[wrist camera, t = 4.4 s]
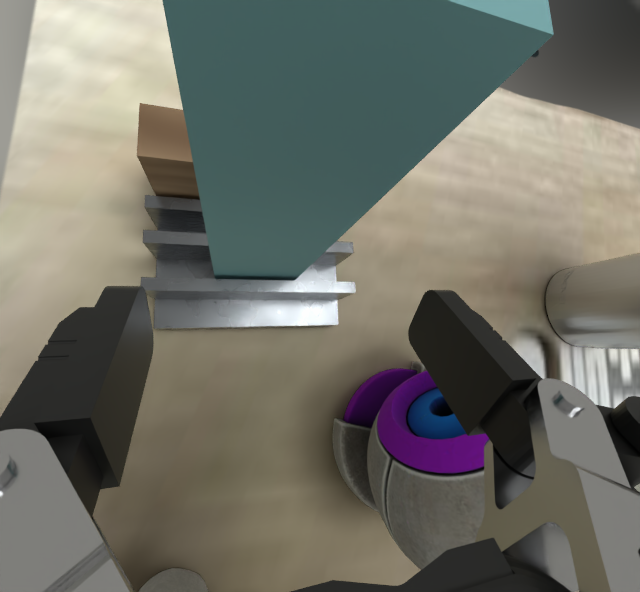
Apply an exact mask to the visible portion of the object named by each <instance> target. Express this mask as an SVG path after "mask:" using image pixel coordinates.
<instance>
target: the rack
mask: <svg viewBox="0 0 640 592" xmlns="http://www.w3.org/2000/svg"><path fill="white" fill-rule="evenodd" d="M145 209H146V210H147V212H148V214H149V215H150V217H151V219H152V220H153V222H154V224H155V225H156V227H157V229H158V231H152V230H143V243H144V244H145V246H146V247H147V248H148V249H149V250H150V252H151V253H152V254H153V255H154V256H155V258H156V259H157V264H156V278H149V277H141V286H142V287H143V288H144V289H145V292H146V294H147V295H149V296H150V297H152V298H154V299H155V312H154V329H159V330H169V329H217V328H266V327H314V326H335V325H338V305H337V300H339V299H341V298H344V297H346V296H349V295H351V294H354V293H356V292H355V282H337V281H336V265H337V264H339V263H340V262H342V261H343V260H344V259H346V258H347V257H349V256H350V255H351V254H353V242H335V243H334V244H333V245H332V246H330V247H329V248H328V249H327V250H326V251H325V252H324V253H323V254H322V255H321V256H320V257H319V258H318V259H317V260H316V261H315V262H314V263H313V264H312V265H310V266H309V267H308V268H307V269H306V270H305V271H304V272H303V273H302V274H301V275H300V276H299V277H298V278H297V279H296V280H295V281H287V280H241V279H215V276H214V271H213V266H212V260H211V255H210V250H209V244H208V239H207V234H206V228H205V223H204V218H203V213H202V207H201V202H200V200H196V199H184V198H173V197H162V196H150V195H145Z"/></svg>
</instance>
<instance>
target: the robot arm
mask: <svg viewBox="0 0 640 592" xmlns="http://www.w3.org/2000/svg"><path fill="white" fill-rule="evenodd" d="M546 309H547V314H548V317H549V320H550V322H551V324H552V326H553V328H554V330H555V331H556V332H557V334H558V335H559V336H560V337H561V338H562V339H563V340H564V341H566V342H567V343H569V344H571V345H574V346H579V347H595V348H611V349H640V253H636V254H632V255H627V256H623V257H618V258H614V259H609V260H605V261H600V262H595V263H591V264H586V265H582V266H577V267H573V268H568V269H564V270H562V271H559V272H558V273H557V274H555V275H554V276H553V278H552V279H551V280H550V282H549V285H548V287H547V292H546ZM408 335H409V341H410V344H411V346H412V347H413V349H414V351H415V352H416V354H417V355H418V357H419V359H420V360H421V362H422V363H423V365H424V367H425V368H426V370H427V371H428V373H429V375H430V376H431V378H432V379H433V381H434V383H435V384H436V386H437V387H438V389H439V391H440V392H441V394H442V395H443V397H444V399H445V400H446V402H447V403H448V405H449V407H450V408H451V410H452V411H453V413H454V415H455V416H456V418H457V419H458V421H459V423H460V424H461V426H462V427H463V429H464V430H465V432H466V434H467V435H468V436H472V435H479V434H486V435H487V436H488V438H489V439H488V440H487V442H486V443H485V446H484V494H485V512H484V518H483V521H482V524H481V526H480V528H479V530H478V533H477V536H476V540H475V542H474V543H471V544H467V545H463V546H459V547H456V548H452V549H448V550H446V551H445V552H444V553H442V554H441V555H440V556H439V557H437V558H436V559H435V560H434V561H432V562H431V563H430V564H428V565H427V566H426V567H425V568H423V569H422V570H421V571H420V572H418V573H417V574H416V575H414V576H413V577H412V578H411V579H409V580H408V581H407V582H406V583H404V584H402V585H399V586H389V585H378V584H367V583H356V582H346V581H335V580H332V581H329V582H325V583H321V584H317V585H314V586H310V587H306V588H302V589H299V590H295V591H291V592H575V591H578V590H579V592H640V492H638V491H637V490H636V489H635V488H634V487H635V486H636V485H638V484H640V397H636V396H631V397H628V398H626V399H625V400H624V401H623V402H622V403H621V404H619V405H618V406H617V407H616V408H615V409H613V408H609V407H604V406H599V405H595V404H594V403H593V402H592V401H591V400H590V399H589V398H588V397H587V396H586V395H585V394H583V393H582V392H581V391H579V390H578V389H576V388H575V387H573V386H571V385H569V384H567V383H565V382H562V381H559V380H556V379H550V378H548V379H542V378H541V377H540V376H539V375H538V374H537V373H536V372H535V371H534V370H533V369H532V368H531V367H530V366H529V365H528V364H527V363H526V362H525V361H524V360H523V359H522V358H521V357H520V356H519V355H518V354H517V353H516V351H515V350H514V349H513V348H512V347H511V346H510V345H509V344H508V343H507V342H506V341H503V340H502V337H501V336H500V335H499V334H498V333H497V332H496V331H495V330H493V328H492V327H491V326H490V324H489V323H488V322H487V321H486V320H485V319H484V318H483V317H482V316H481V315H479V314H478V313H476V312H475V311H473V310H472V309H471V308H470V307H469V306H468V305H467V304H466V303H465V302H464V301H463V300H462V299H461V298H460V297H459V296H458V295H457V294H456V293H455V292H454V291H451V290H429V291H427V292H426V293H425V294H424V295H423V297H422V300H421V302H420V304H419V306H418V309H417V311H416V313H415V315H414V318H413V320H412V322H411V324H410V327H409V332H408ZM152 354H153V330H152V325H151V319H150V314H149V308H148V303H147V297H146V292H145V289H144V288H143V287H142V286H107V287H105V289H104V290H103V292H102V294H101V296H100V298H99V300H98V302H97V304H96V305H95V307H80V308H78V309H77V310H76V311H74V312H73V313H72V314H71V315H69V316H68V317H67V318H65V319H64V320H63V321H61V322H60V323H59V324H58V326H57V328H56V329H55V331H54V332H53V334H52V336H51V337H50V339H49V340H48V345H45V347H44V348H43V350H42V352H41V353H40V355H39V356H38V361H35V363H34V364H33V366H32V368H31V369H30V371H29V372H28V374H27V376H26V377H25V379H24V380H23V382H22V384H21V385H20V387H19V388H18V390H17V392H16V393H15V395H14V396H13V398H12V400H11V401H10V403H9V404H8V406H7V408H6V409H5V411H4V412H3V414H2V416H1V417H0V592H135V590H134V589H133V587H132V585H131V583H130V581H129V580H128V578H127V576H126V574H125V573H124V571H123V569H122V567H121V565H120V564H119V562H118V560H117V558H116V556H115V555H114V553H113V551H112V549H111V548H110V546H109V544H108V542H107V540H106V539H105V537H104V535H103V533H102V531H101V530H100V528H99V526H98V524H97V522H96V521H95V519H94V517H93V512H94V508H95V505H96V501H97V498H98V495H99V491H100V489H104V488H111V487H118V486H120V482H121V478H122V474H123V470H124V466H125V462H126V458H127V454H128V450H129V446H130V442H131V438H132V434H133V430H134V426H135V422H136V418H137V414H138V410H139V406H140V402H141V398H142V394H143V390H144V386H145V382H146V378H147V374H148V370H149V366H150V362H151V359H152Z"/></svg>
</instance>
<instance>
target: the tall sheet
mask: <svg viewBox="0 0 640 592" xmlns="http://www.w3.org/2000/svg"><path fill="white" fill-rule="evenodd" d="M163 5H164V10H165V16H166V21H167V26H168V32H169V37H170V42H171V48H172V53H173V58H174V64H175V69H176V74H177V79H178V85H179V90H180V95H181V101H182V106H183V111H184V117H185V122H186V127H187V133H188V138H189V143H190V149H191V154H192V159H193V165H194V170H195V175H196V181H197V186H198V191H199V197H200V202H201V207H202V213H203V218H204V223H205V228H206V234H207V239H208V244H209V250H210V255H211V260H212V266H213V271H214V276H215V279H241V280H287V281H295V280H296V279H297V278H298V277H299V276H300V275H301V274H302V273H303V272H304V271H305V270H306V269H307V268H308V267H309V266H310V265H312V264H313V263H314V262H315V261H316V260H317V259H318V258H319V257H320V256H321V255H322V254H323V253H324V252H325V251H326V250H327V249H328V248H329V247H330V246H332V245H333V244H334V243H335V242H336V241H337V240H338V239H339V238H340V237H341V236H342V235H343V234H344V233H345V232H346V231H347V230H348V229H349V228H350V227H352V226H353V225H354V224H355V223H356V222H357V221H358V220H359V219H360V218H361V217H362V216H363V215H364V214H365V213H366V212H367V211H368V210H369V209H370V208H372V207H373V206H374V205H375V204H376V203H377V202H378V201H379V200H380V199H381V198H382V197H383V196H384V195H385V194H386V193H387V192H388V191H389V190H391V189H392V188H393V187H394V186H395V185H396V184H397V183H398V182H399V181H400V180H401V179H402V178H403V177H404V176H405V175H406V174H407V173H408V172H409V171H411V170H412V169H413V168H414V167H415V166H416V165H417V164H418V163H419V162H420V161H421V160H422V159H423V158H424V157H425V156H426V155H427V154H428V153H429V152H431V151H432V150H433V149H434V148H435V147H436V146H437V145H438V144H439V143H440V142H441V141H442V140H443V139H444V138H445V137H446V136H447V135H448V134H449V133H451V132H452V131H453V130H454V129H455V128H456V127H457V126H458V125H459V124H460V123H461V122H462V121H463V120H464V119H465V118H466V117H467V116H468V115H469V114H471V113H472V112H473V111H474V110H475V109H476V108H477V107H478V106H479V105H480V104H481V103H482V102H483V101H484V100H485V99H486V98H487V97H488V96H489V95H491V94H492V93H493V92H494V91H495V90H496V89H497V88H498V87H499V86H500V85H501V84H502V83H503V82H504V81H505V80H506V79H507V78H508V77H509V76H511V74H512V73H514V72H515V71H516V70H517V69H518V68H519V67H520V66H521V65H522V64H523V63H524V62H525V61H526V60H527V59H528V58H529V57H531V56H532V55H533V54H534V53H535V52H536V51H537V50H538V49H539V48H540V47H541V46H542V45H543V44H544V43H545V42H546V41H547V40H548V39H549V38H551V37H552V36H553V28H552V22H551V16H550V9H549V3H548V0H163Z"/></svg>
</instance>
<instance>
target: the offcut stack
mask: <svg viewBox="0 0 640 592" xmlns="http://www.w3.org/2000/svg"><path fill="white" fill-rule="evenodd" d="M137 157H138V159H139V161H140V163H141V165H142V167H143V169H144V171H145V173H146V175H147V178H148V180H149V182H150V184H151V186H152V188H153V190H154V192H155V194H156V196H162V197H173V198H184V199H196V200H200V197H199V191H198V186H197V181H196V175H195V170H194V165H193V159H192V154H191V149H190V143H189V138H188V133H187V127H186V122H185V117H184V111H183V110H179V109H173V108H167V107H160V106H154V105H148V104H142V103H140V108H139V127H138V146H137Z"/></svg>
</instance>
